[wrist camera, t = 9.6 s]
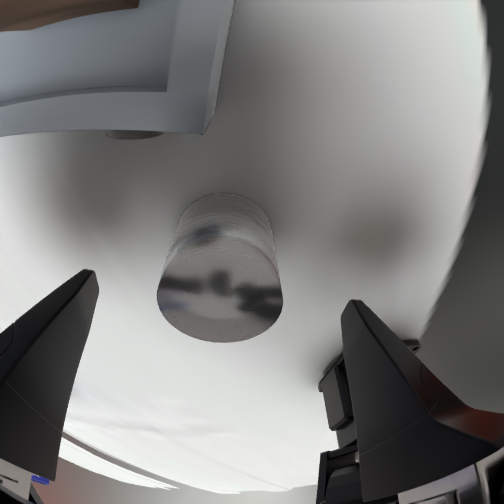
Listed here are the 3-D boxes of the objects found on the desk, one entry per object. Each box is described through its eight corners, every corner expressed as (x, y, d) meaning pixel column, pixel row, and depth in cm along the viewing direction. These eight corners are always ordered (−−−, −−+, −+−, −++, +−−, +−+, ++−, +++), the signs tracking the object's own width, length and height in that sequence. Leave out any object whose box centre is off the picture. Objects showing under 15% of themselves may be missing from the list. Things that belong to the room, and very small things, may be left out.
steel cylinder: (281, 200, 11) (298, 264, 8) (261, 275, 13) (267, 346, 10) (179, 187, 11) (153, 247, 7) (177, 266, 13) (160, 335, 10)
